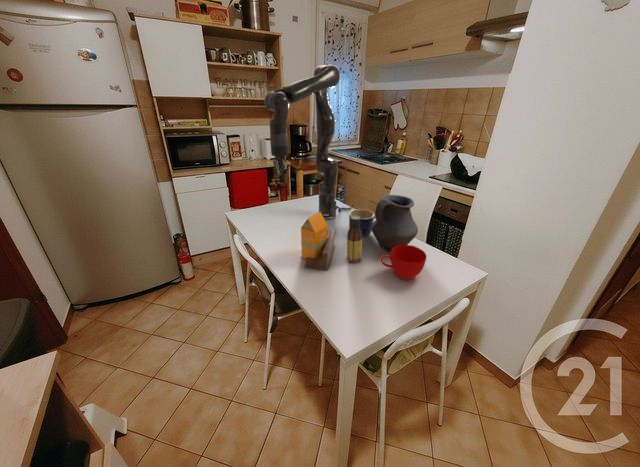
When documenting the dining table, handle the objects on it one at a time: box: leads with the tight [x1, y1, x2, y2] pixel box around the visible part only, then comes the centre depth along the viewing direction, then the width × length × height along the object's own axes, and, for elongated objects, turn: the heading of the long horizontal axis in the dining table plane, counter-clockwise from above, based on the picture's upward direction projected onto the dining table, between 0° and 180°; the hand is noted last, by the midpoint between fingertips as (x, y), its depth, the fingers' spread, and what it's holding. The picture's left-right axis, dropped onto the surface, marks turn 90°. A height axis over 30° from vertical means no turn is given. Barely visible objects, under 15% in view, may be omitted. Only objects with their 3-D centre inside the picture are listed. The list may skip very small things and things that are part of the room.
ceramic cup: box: [379, 244, 428, 280], centre depth 103 cm, size 13×17×10 cm
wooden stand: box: [305, 230, 336, 271], centre depth 115 cm, size 9×20×8 cm, turn 169°
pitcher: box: [371, 194, 419, 252], centre depth 118 cm, size 21×22×25 cm
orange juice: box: [300, 211, 329, 260], centre depth 112 cm, size 8×9×20 cm
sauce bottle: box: [346, 216, 363, 263], centre depth 110 cm, size 7×6×20 cm
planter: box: [348, 208, 375, 238], centre depth 133 cm, size 12×12×11 cm
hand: (281, 182), depth 123 cm, fingers closed
